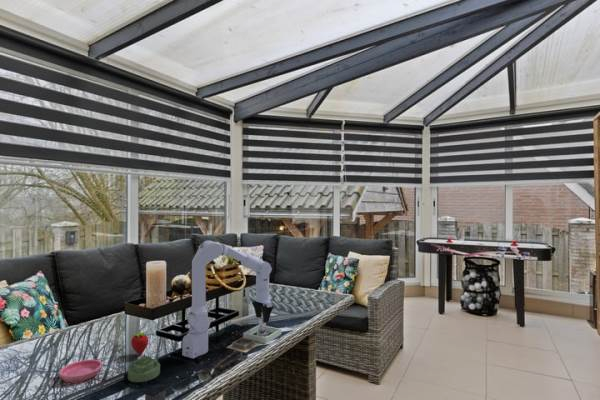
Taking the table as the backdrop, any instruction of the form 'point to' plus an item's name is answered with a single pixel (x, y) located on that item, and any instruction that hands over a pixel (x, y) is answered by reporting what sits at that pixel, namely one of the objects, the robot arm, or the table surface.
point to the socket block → (243, 345)
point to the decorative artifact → (143, 369)
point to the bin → (248, 335)
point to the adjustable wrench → (241, 319)
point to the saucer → (80, 370)
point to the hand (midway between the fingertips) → (262, 319)
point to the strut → (262, 328)
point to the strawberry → (139, 342)
